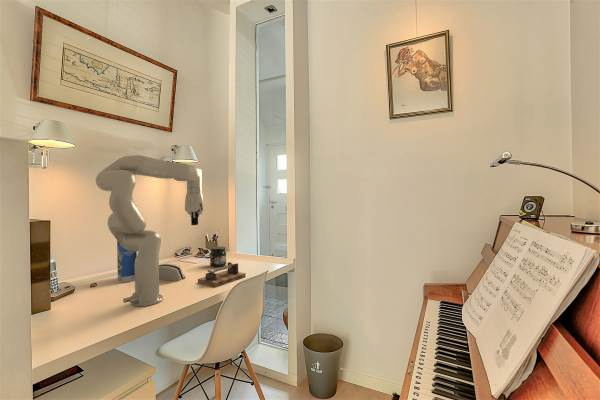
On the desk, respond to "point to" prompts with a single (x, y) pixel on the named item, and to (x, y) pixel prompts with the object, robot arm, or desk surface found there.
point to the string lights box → (125, 264)
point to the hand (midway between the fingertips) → (194, 224)
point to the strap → (221, 268)
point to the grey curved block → (170, 272)
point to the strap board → (222, 277)
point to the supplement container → (218, 257)
